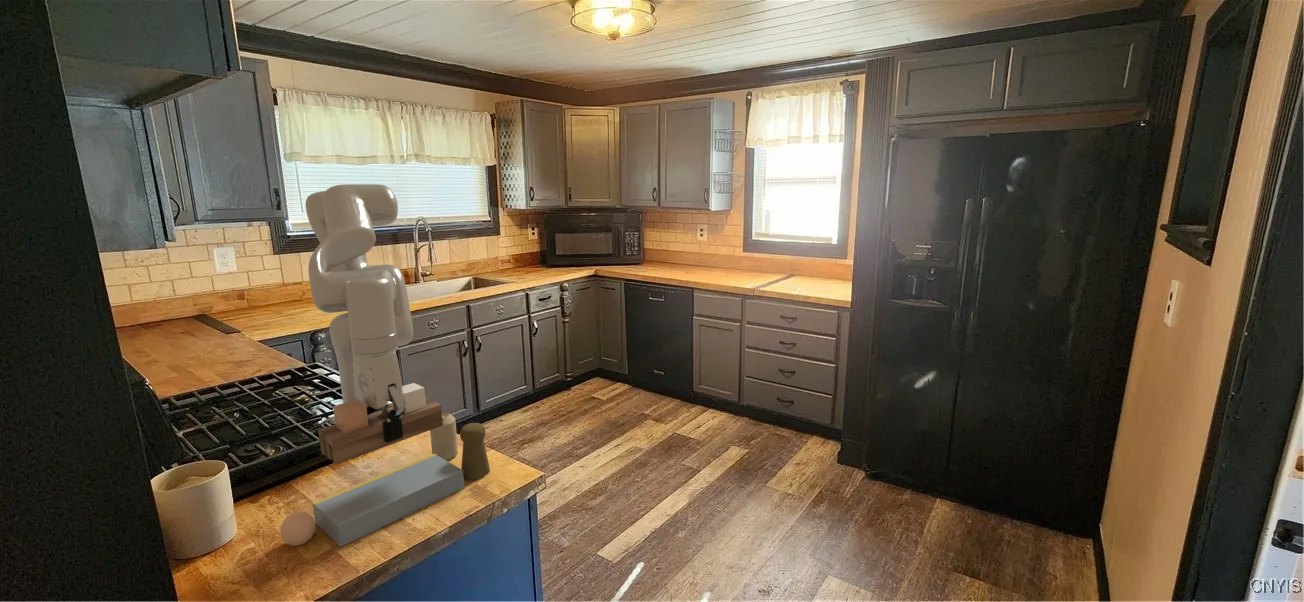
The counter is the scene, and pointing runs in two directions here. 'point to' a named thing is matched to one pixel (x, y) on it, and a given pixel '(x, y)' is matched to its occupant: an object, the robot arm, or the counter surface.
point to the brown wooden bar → (376, 433)
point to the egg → (297, 528)
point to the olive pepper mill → (474, 452)
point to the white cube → (413, 397)
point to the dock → (386, 498)
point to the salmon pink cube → (350, 416)
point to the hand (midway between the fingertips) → (384, 433)
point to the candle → (445, 438)
